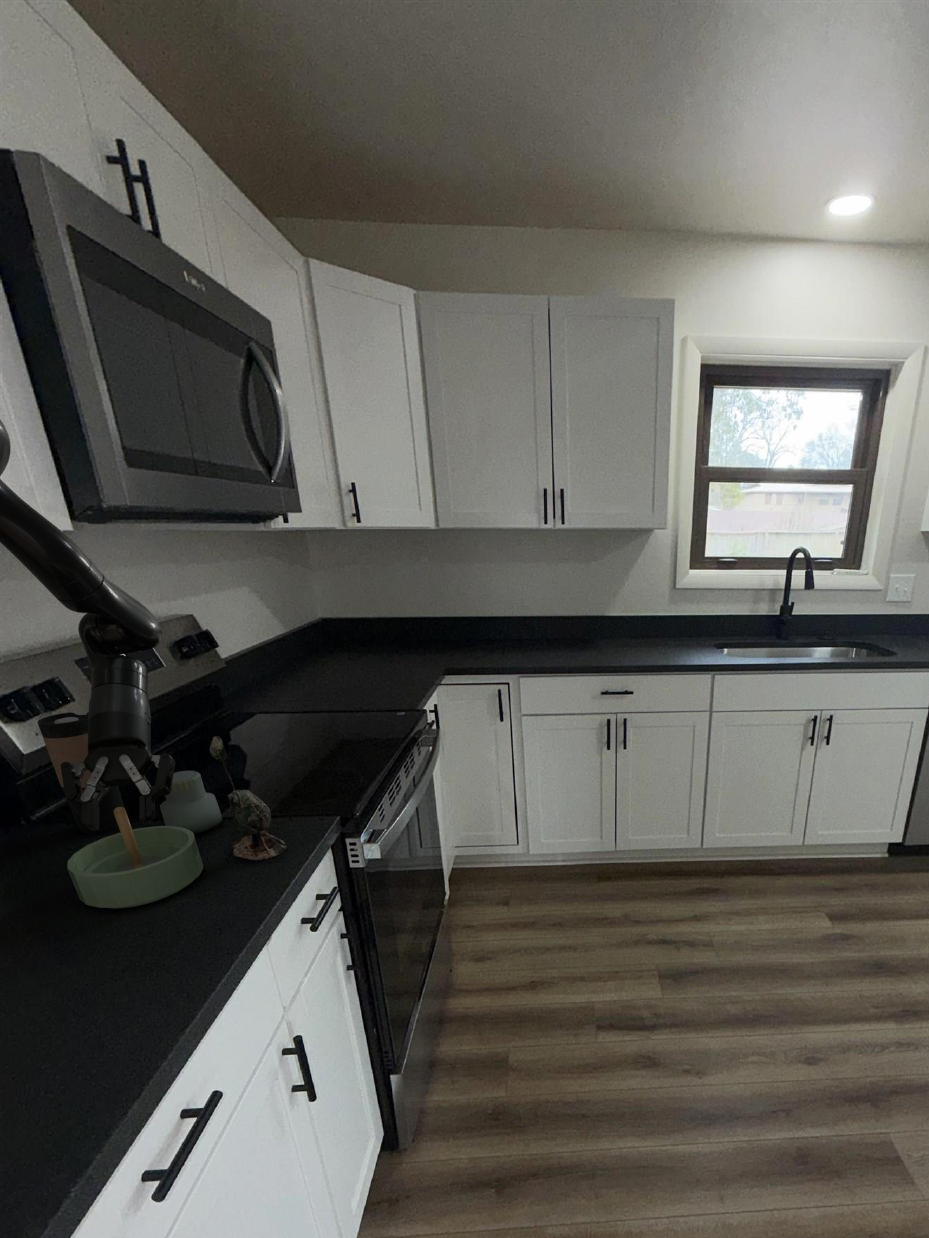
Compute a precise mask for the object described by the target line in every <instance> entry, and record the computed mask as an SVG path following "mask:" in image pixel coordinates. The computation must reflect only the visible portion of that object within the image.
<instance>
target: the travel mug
mask: <svg viewBox="0 0 929 1238" xmlns="http://www.w3.org/2000/svg"><path fill="white" fill-rule="evenodd" d="M88 713H89V711H87V712H86V714H76V713H75V712H72V711H71V712H70V711H69V712H62V713H56V714H51V715H48V716H45V717H42V718H40V719H38V720H37V725H38V728H39V731H40V734H41V736H42V740H43V742H44V744H45V747H46V750H47V753H48V756H49V758H50V760H51V764H52V766H53V770H54V771H55V774H56V777H57V780H58V782H59V785H60V787H61V790H62V792H63V795H64V797H65V800H66V802H67V804H68V806H69V808H70V810H71V813H72V816H73V818H74V820H75V822H76V824H77V827H78V829H79V831H80V832H82V833H84V834H97V833H99V834H100V833H104V832H108V831H112V830H115V829H119V826H118V823H117V821H116V818H115V815H114V809H115V808H117V807H123V808H124V809H125V810H126V807H125V805H124V802H123V798H122V795H121V791H120V788H119V785H118V786H113V787H110V789H109V791H108V793H107V794H105V795H103V797H102V799H101V801H100V802H99V804H98V806H99V807H100V811H99V830H95V831H92V830H90V829H89V828H87V826H85V825H84V824H83V823H82V805H76V804H74V803H73V802H72V801H70V800H69V799H67V798H66V796H65V791H64V785H63V779H62V773H61V767H60V766H61V764H62V763H63V762H69V763H70V764H75V763H79V762H84V760H85V758H86V757H87V755H88ZM91 774H92V773H91V772H90V771H89V770H86V771H85V772H84V776H83V778H80V780H81V786H82V792H84V790H85V788H86V787H87V781H88V779H89V777H90V776H91ZM100 783H101V781H100Z"/></svg>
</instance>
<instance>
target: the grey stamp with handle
mask: <svg viewBox="0 0 929 1238" xmlns="http://www.w3.org/2000/svg"><path fill="white" fill-rule="evenodd" d="M124 808H125V807H124ZM124 808H123V807H117V808H115V809H114V815H115V818H116V821H117V823H118V826H119V827H118V829H119V833H121V835H122V838H123V840H124V843H125V846H126V849H127V852H128V854H129V857H130V860H129V861H126V862H124V863H122V864H120V865H119V866H118V867H116V869H115V871H114V872H122V871H128V870H132V869H136V868H140V867H144V866H147V865H150V864H153V863H155V862H158V861H161V860H162V859H161V858H160V857H157V856H144V857H141V854H140V851H139V848H138V845H137V842H136V839H135V836H134V834H133V831H132V830H133V828H132V826H131V821H130V819H129V817H128V814H127V811H126V808H125V809H124Z"/></svg>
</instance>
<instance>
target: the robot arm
mask: <svg viewBox="0 0 929 1238" xmlns="http://www.w3.org/2000/svg"><path fill="white" fill-rule="evenodd" d="M11 449H12V448H11V439H10V435H9V432H8V430H7V428H6V425H5V424H4V423H3V421H2V420H1V419H0V477H1V476H2V474H3V473H4V472H5V470H6V468H7V466H8V463H9V461H10V457H11ZM0 544H1V545H2V546H3V547H5V548H6V550H8V551H9V552H10V553H11V554H12V555H13V556H14V557H15V558H16V559H17V560H18V561H19V562H20V563H21V564H22V565H23V566H24V567H25V568H26V569H27V570H28V571H29V572H30V573H31V574H32V575H33V576H34V577H35V578H36V579H37V580H38V582H39V583H41V585H43V586H44V587H45V589H46V590H48V591H49V593H51V595H53V597H54V598H56V600H57V601H59V603H60V604H61V605H63V606H64V607H65V608H66V609H68V610H69V611H71V612H75V613H79V614H83V616H82V617H81V618H80V621H79V623H78V627H77V628H78V629H77V631H78V634H79V639H80V641H81V643H82V646H83V648H84V651H85V653H86V654H85V655H86V657H87V660H88V664H89V667H90V670H91V681H90V683H91V684H90V685H91V686H90V687H91V688H90V697H89V702H88V712H89V713H88V755H87V757H86V758H85V760H84V762H79V763H75V764H70V763H69V762H63V763H62V764H61V766H60V767H61V773H62V779H63V785H64V791H65V794H64V797H65V796H66V797H65V799H66V798H67V799H69V800H70V801H72V802H73V803H74V804H76V805H82V823H83V824H84V825H85V826H87V828H89V829H90V830H92V831H95V830H99V811H100V807H99V806H98V804H99V802H100V801H101V799H102V797H103V795H105V794H107V793H108V791H109V789H110V787H113V786H118V787H119V786H122V785H127V786H131V785H135V786H136V787H137V789H138V791H139V792H140V794H141V795H140V796H138V819H139V822H140V823H142V824H143V825H145V826H146V825H151V824H152V821H154V820H155V818H156V800H157V799H158V798H159V797H161V796H164V797H165V796H166V795H169V794H170V792H171V786H172V780H173V774H174V773H175V768H176V761H175V759H174V758H173V756H171V754H170V753H168V752H162V753H161V754H152V751H151V750H152V739H151V738H152V733H151V730H152V728H151V727H152V726H151V724H152V715H151V706H150V700H149V673H148V669H147V667H146V665H145V664H144V663H143V662H142V661H141V660H139V659H137V658H136V657H132V656H128V655H127V654H132V653H137V652H143V651H149V650H151V649H154V648H156V647H157V646H158V645H159V644H160V643H161V640H162V639H163V637H162V635H163V633H162V632H163V631H162V627H161V624H160V622H159V621H158V619H157V618H156V616H155V615H154V613H153V612H152V611H151V610H150V609H149V608H148V607H147V606H146V605H144V604H143V603H141V602H140V601H139V600H138V599H136V598H135V597H134V596H133V595H130V594H129V593H128V592H126V591H125V590H124V589H123V588H121V587H120V586H118V585H117V584H115V583H113V581H111V580H110V579H108V578H107V577H106V575H104V573H103V572H102V571H101V570H100V569H99V567H98V566H97V565H96V564H95V563H94V562H93V561H92V560H91V558H90V557H89V556H88V555H87V553H86V552H84V550H83V549H82V548H81V547H80V546H79V545H78V544H77V543H76V542H75V541H74V540H73V539H72V538H71V537H69V536H68V535H67V534H66V533H65V532H64V531H62V530H61V529H60V528H58V527H57V526H56V525H55V524H53V523H52V522H51V521H50V520H49V519H47V518H46V517H45V516H43V514H41V513H40V512H38V511H37V510H36V509H35V508H34V507H32V506H31V505H30V504H29V503H27V502H26V501H25V500H23V499H22V498H21V497H20V496H19V494H17V493H16V492H15V491H13V489H11V488H10V487H9V486H8V484H6V482H4V481H3V480H2V478H0ZM153 765H154V766H155V767H156V768H157V770H156V777H155V783H154V785H151V784H150V782H149V780H148V779H147V777H146V776H145V775H146V774H147V772H148V771H149V770H150V769H151V767H153ZM86 770H89V771H90V772H91V773H92V774H91V776H90V777H89V779H88V781H87V787H86V788H85V790H84V792H82V786H81V780H80V778H83V776H84V772H85V771H86ZM100 781H101V783H100ZM67 799H66V800H67Z"/></svg>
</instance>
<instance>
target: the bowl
mask: <svg viewBox="0 0 929 1238" xmlns="http://www.w3.org/2000/svg"><path fill="white" fill-rule="evenodd" d="M132 831H133V834H134V836H135V839H136V842H137V845H138V848H139V851H140V854H141V857H144V856H157V857H160V858H161V859H162V860H161V861H158V862H155V863H153V864H150V865H147V866H144V867H140V868H136V869H132V870H128V871H122V872H114V871H115V869H116V867H118V866H119V865H120V864H122V863H124V862H126V861H129V860H130V857H129V854H128V852H127V849H126V846H125V843H124V840H123V838H122V835H121V832H117V833H115V834H114V833H113V834H112V835H108V836H105V837H102V838H100V839H98V840H96V841H94V842H92V843H89V844H87V845H85V846H83V847H82V848H80V849H79V850H77V851H76V852H75V853H73V854H72V855H71V856H70V858H69V859H68V860H67V864H66V867H67V871H68V874H69V877H70V879H71V881H72V883H73V886H74V889H75V891H76V894H77V896H78V899H79V900H80V901H81V902H83V903H84V905H86V906H90V907H94V908H99V909H128V908H134V907H141V906H144V905H149V904H151V903H155V902H157V901H160V900H163V899H166V898H168V897H170V896H172V895H175V894H176V893H178V892H180V891H181V890H184V889H185V888H186V887H188V886H189V885H190V884H192V883H193V882H194V881H195V880H196V879H197V878H198V877H199V876H201V874H202V872H203V869H204V864H203V861H202V857H201V854H200V851H199V848H198V844H197V841H196V838H195V834H193V832H192V831H190V830H188V829H186V828H182V827H176V826H166V825H155V826H147V827H140V828H139V827H138V828H134V829H132Z"/></svg>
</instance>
